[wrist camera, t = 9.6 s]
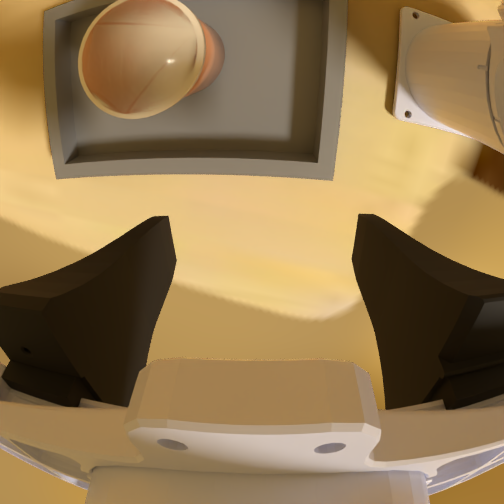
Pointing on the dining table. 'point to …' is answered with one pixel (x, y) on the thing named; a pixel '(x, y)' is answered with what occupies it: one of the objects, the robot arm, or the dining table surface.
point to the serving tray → (211, 97)
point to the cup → (147, 57)
